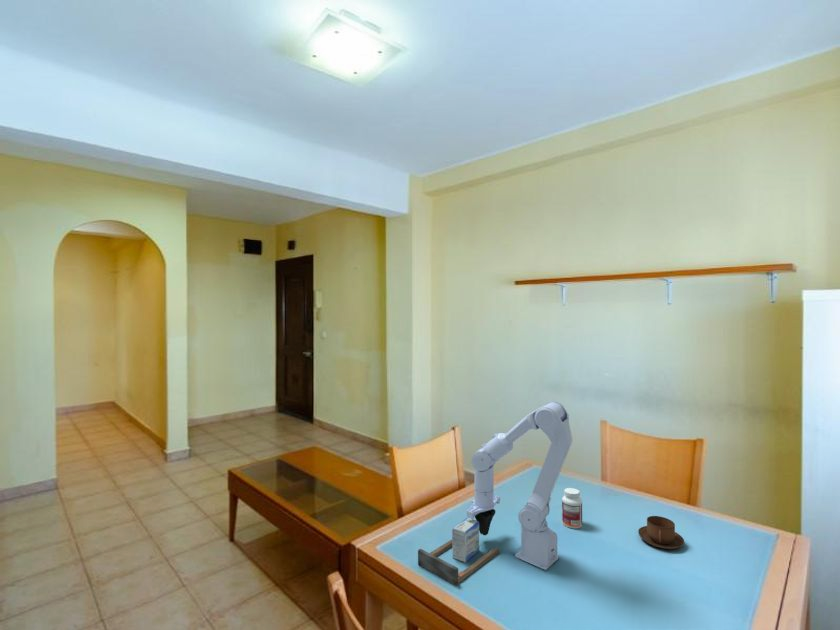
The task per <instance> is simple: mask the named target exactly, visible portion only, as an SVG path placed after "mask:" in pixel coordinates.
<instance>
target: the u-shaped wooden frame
mask: <svg viewBox="0 0 840 630" xmlns="http://www.w3.org/2000/svg"><path fill="white" fill-rule="evenodd" d="M451 548H452V539H449V540H448V541H447V542H445V543H444V544H442V545H440V546H439V547H437V548H436V549H434V550H432V551H431V552H428V551H426V550H424V549H422V548H420V549H418V550H417V565H418V566H420V567H421V568H424V569H426V570H427V571H429V572H431V573H432V574H434V575H436V576H438V577H440V578H442V579H444V580H445V581H447V582H449V583H450V584H452V585H454V586H457V585H459V584H460V583H461V582H462V581H464V580H465V579H467V578H468V577H469V576H470V575H472V574H473V573H474V572H476V571H477V570H479V569H480V568H481V567H482V566H484V565H485V564H487V563H488V562H489V561H490V560H492V559H493V558H495V557H496V556H497V555H498V554H500V548H499V547H496V546H495V547H493V548H492V549H491V550H489V552H487V553H485V554H483V556H481V557H480V558H479V559H477V560H476V561H475V562H474V563H472V564H470V565H469V566H468V567H466V568H465V569H463V570H461V571H460V572H459V568H458V567H457V566H455V565H453V564H451V563H449V562H447V561H446V560H444V559H441V558H439V557H438V556H440V555H441V554H443V553H445V552H446V551H448V550H450V549H451Z"/></svg>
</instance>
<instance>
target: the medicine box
mask: <svg viewBox="0 0 840 630" xmlns="http://www.w3.org/2000/svg"><path fill="white" fill-rule="evenodd" d="M451 532H452V533H451V534H452V536H451V540H452V547H451V548H452V550H451V551H452V558H453V559H455V560H456V561H457V560H458V561H460V562H463V563H468V561H469V560H470V559H471V558H472V557H474V556H475V555H476V554H477V553H478V552H479V551H480V531H479V522H478V521H476V519H474V518H473V519H471V518H468V517H466V518H464V519H463V520H462V521H460V522H459V523H457V524H456V525H455V526H454V527H452V531H451Z"/></svg>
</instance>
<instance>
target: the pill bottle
mask: <svg viewBox="0 0 840 630" xmlns="http://www.w3.org/2000/svg"><path fill="white" fill-rule="evenodd" d="M580 496H581V495H580V490H579V489H576V488H573V487H567V488H564V495H563V496H562V498H561V517H562V518H561V520H562V521H561V522H562V524H563V526H564V527H567V528H570V529H576V530H577V529H580V528H581V527H582V526H583V500H582V498H581V497H580Z"/></svg>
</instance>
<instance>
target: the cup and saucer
mask: <svg viewBox="0 0 840 630" xmlns="http://www.w3.org/2000/svg"><path fill="white" fill-rule="evenodd" d="M675 529H676V524H675V522H674V521H672V519H668V518H667V517H663V516H661V515H660V516H659V515H650V516H648V517H646V526H645V525H644V526H641V527H639V528H638V531H637V533H638V536H639V537H640V538H641V539H642V540H643V541H644V542H645V543H648V544H649V545H651V546H653V547H656V548H660V549H665V550H675V549H679V548H681V547H683V545H684V543H685V539H684V538H683V536H682V535H680V534H679V533H678V532H676V530H675Z"/></svg>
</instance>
